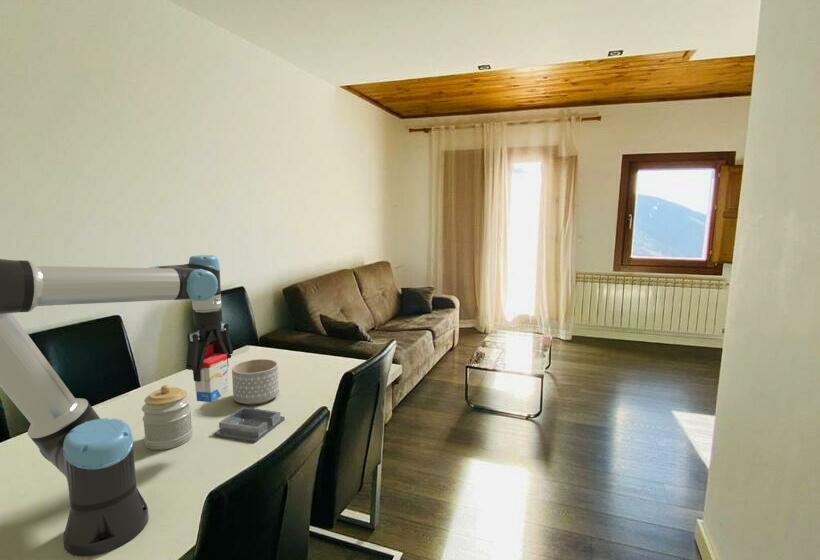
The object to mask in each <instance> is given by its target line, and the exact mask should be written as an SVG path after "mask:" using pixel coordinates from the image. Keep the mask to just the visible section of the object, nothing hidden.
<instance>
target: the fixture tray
mask: <svg viewBox="0 0 820 560" xmlns="http://www.w3.org/2000/svg"><path fill="white" fill-rule="evenodd" d="M285 417H286V416H281V412H279V411H275V410H269V409H267V410H266V409H260V408H253V407H247V406H246V407H245V406H242V407H241V408H240V409H237V410H236V411H235V412H233V413H231V415H228V416H227V417H226V418H224V419H222V420H221V421H219V422H218V430H216V431H215V432H214V433H213V434H214V435H213V436H214V437H220V438H226V439H231V440H235V441H236V440H237V441H243V442H249V443H254V444H255V443H257V442H259V440H261V439H262V438H264V436H266V435H267V434H268V433H270V432H271V431H273V430H274V429H275V428H276V427H277V426H279V425H280V424H281V423H283V422H284V421H285V419H286V418H285Z"/></svg>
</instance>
